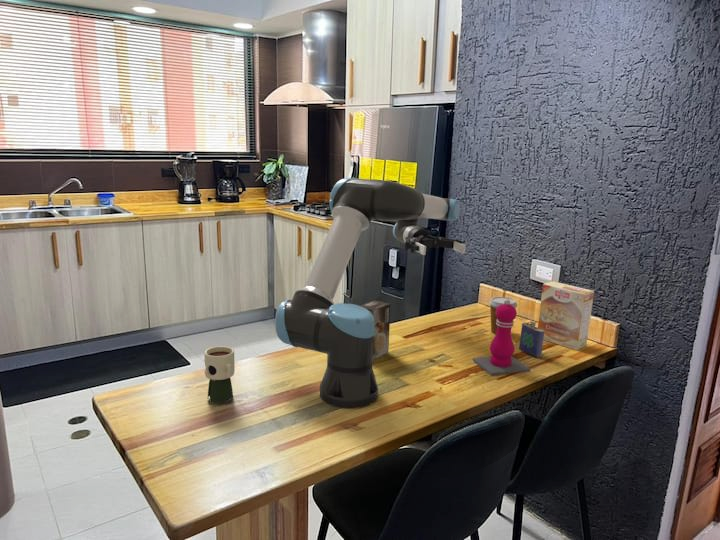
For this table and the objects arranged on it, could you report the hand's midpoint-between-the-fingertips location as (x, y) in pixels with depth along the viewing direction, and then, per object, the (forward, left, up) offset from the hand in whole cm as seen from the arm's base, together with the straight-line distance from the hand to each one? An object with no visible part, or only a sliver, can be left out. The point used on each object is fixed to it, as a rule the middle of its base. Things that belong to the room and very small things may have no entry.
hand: (444, 250), depth 171 cm
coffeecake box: (+44, -5, -32) cm, 55 cm away
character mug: (-70, -22, -32) cm, 80 cm away
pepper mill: (+12, -19, -31) cm, 38 cm away
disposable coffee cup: (+28, +7, -32) cm, 43 cm away
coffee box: (-23, -2, -32) cm, 40 cm away
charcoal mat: (+12, -19, -32) cm, 39 cm away
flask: (+27, -12, -32) cm, 44 cm away
